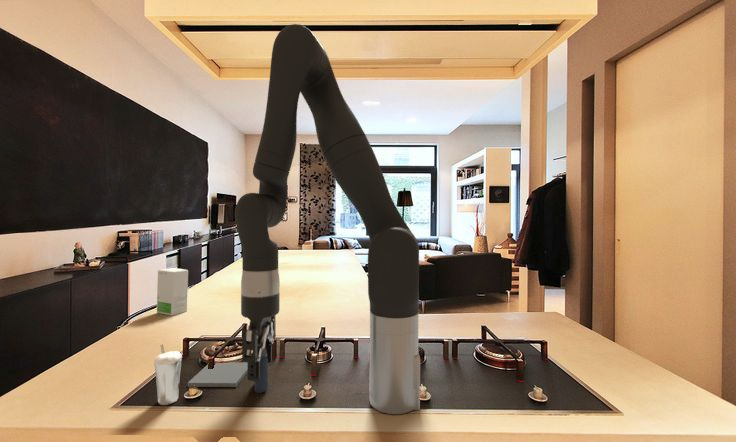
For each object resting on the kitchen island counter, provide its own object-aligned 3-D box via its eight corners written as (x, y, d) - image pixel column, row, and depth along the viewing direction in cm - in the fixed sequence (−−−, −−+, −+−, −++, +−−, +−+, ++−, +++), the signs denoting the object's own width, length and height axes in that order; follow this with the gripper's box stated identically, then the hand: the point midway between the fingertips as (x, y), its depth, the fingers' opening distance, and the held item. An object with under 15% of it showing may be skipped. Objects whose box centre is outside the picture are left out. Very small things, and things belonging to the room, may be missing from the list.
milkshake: (174, 390, 69) (174, 341, 69) (186, 399, 66) (185, 347, 66) (148, 400, 66) (148, 347, 66) (159, 410, 62) (159, 355, 62)
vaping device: (265, 380, 74) (266, 324, 74) (268, 392, 69) (268, 332, 69) (253, 382, 73) (253, 326, 73) (254, 394, 68) (254, 334, 68)
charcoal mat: (252, 365, 81) (252, 362, 81) (236, 387, 71) (236, 383, 71) (210, 365, 81) (210, 362, 81) (187, 386, 71) (187, 382, 71)
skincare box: (156, 313, 124) (156, 269, 123) (172, 308, 130) (172, 267, 130) (172, 316, 120) (172, 271, 120) (188, 311, 126) (188, 268, 126)
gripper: (268, 299, 63) (268, 388, 64) (287, 284, 78) (287, 356, 78) (228, 299, 63) (227, 387, 64) (254, 284, 78) (253, 356, 78)
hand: (260, 370), depth 71 cm, fingers open, 7 cm apart
